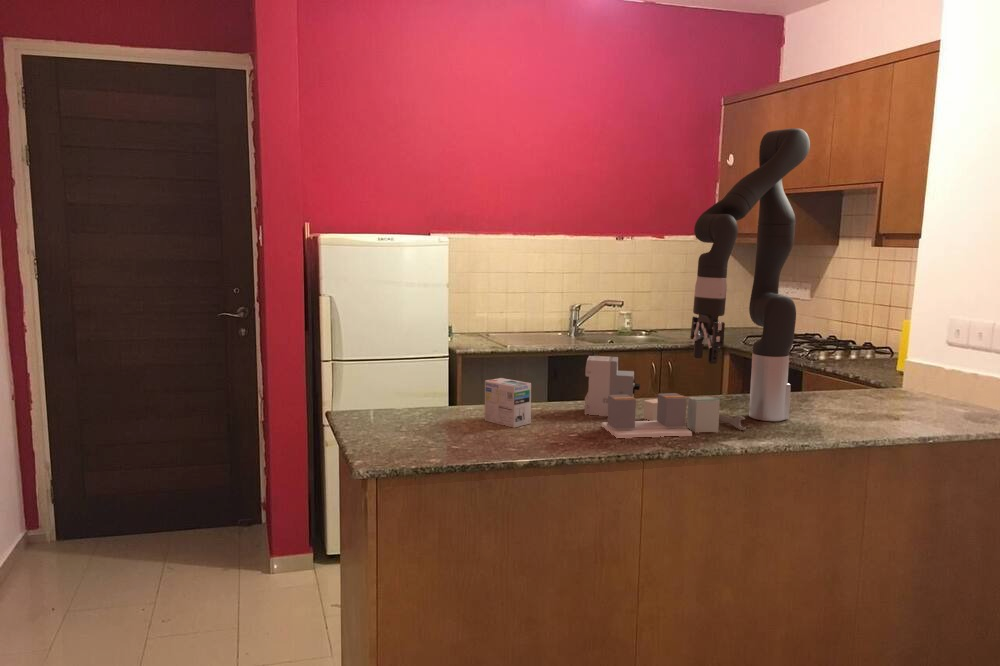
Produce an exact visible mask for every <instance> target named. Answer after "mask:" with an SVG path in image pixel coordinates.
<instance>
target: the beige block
mask: <svg viewBox="0 0 1000 666" xmlns="http://www.w3.org/2000/svg"><path fill="white" fill-rule="evenodd" d="M657 405H658V398H655V399H645V400H644V401H643V420H646V419H647V420H646V421H648V420H650V421H657Z"/></svg>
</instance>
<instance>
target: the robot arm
mask: <svg viewBox="0 0 1000 666" xmlns="http://www.w3.org/2000/svg"><path fill="white" fill-rule="evenodd" d="M810 147H811V141H810V137H809V135H808V133H807V132H806V131H805V130H804V129H801V128H796V127H795V128H791V127H790V128H784V129H776V130H771V131H768V132H766V133H764V135H763V136H762V138H761V140H760V144H759V151H758V162H759V166H758V168H756V169H754V170H753V171H752V172H749V173H748V174H746V175H745V176H744V177H742V178H741V179H740V180H738V182H736V183H735V184H734V185H733V186H732V187H731V189H730V190H729V191H728V193H726V195H725V196H724V197H723V198H721V200H718V201H717V202H716V203H714V204H713V205H712V206H711V207H709V208H708V209H706V210H705V211H704V212H702V213H701V214H700V216H699V217H698V218H697V219H696V222H695V223H694V229H693V233H694V236H695V238H696V239H697V240H698V241H700V242H702V243H707V244H709V243H710V244H712V246H711V248H710V250H709V251H707V252H703V253H701V254H700V255H699V257H698V261H697V275H696V279H695V280H696V281H695V285H694V298H693V309H692V310H693V311H692V312H693V314H695V315H697V316H692V317H691V320H692V321H691V329H690V337H689V338H690V340H692V343H693V356H692V357H693V359H702V358H703V355H704V342H705V341H707V345H708V349H707V351H708V352H707V364H709V365H711V364H712V365H713V364H717V363H718V355H719V349H720V348H723V347H724V346H725V345H724V344H725V343H724V341H725V328H726V327H725V326H726V323H725V321H719V317H723V316H724V315H725V313H726V301H727V290H728V289H727V285H728V284H727V279H728V277H727V275H728V263H729V259H730V257H731V256H732V252H733V249H734V246H735V243H736V241H737V237H738V232H739V231H738V230H739V227H738V222H737V221H740V220H743V219H744V218H745V217H746V216H747V215H748V214H749V213H750V211H751V210H752V209H753V208H754V207H755V205H757V204H758V203H759V204H758V205H759V208H758V219H757V233H756V234H757V235H756V253H755V262H754V263H755V266H754V274H753V275H754V276H753V283H752V287H751V294H750V300H749V307H748V310H749V311H748V312H749V318H750V319H751V322H753V323H754V325H756V326H758V327H762V333H761V337H760V339H758V340H757V341H754V342H753V344H752V352H751V353H752V355H751V371H750V372H751V373H750V375H751V376H750V390H749V406H748V407H749V408H748V412H749V413H748V417H750V418H751V419H754V420H758V421H759V420H760V421H765V422H766V421H767V422H783V421H784V420H789V417H790V405H791V404H790V403H791V402H790V401H791V385H792V384H790V383H789V382H788V380H789V365H790V350H791V348H792V346H793V343H794V339H795V332H796V331H795V330H796V321H797V307H796V304H795V303H794V300H793V298H791V297H789V296H788V295H786V294H785V295H784V294H779V287H780V276H781V272H782V271H783V270H782V269H783V267H784V265H785V263H786V262H787V260H788V257H789V256H790V254H791V252H792V250H793V246H794V244H795V234H796V215H795V211H794V210H793V207H792V205H791V203H790V201H789V199H788V197H787V195H786V193H785V191H784V186H783V179H784V178H785V177H786V176H788V174H789V173H790V172H791V171H793V170H794V169H795V168H796V167H799V165H801V163H802V162H803V161H805V159H806V158H807V157H808V155H809V153H810Z"/></svg>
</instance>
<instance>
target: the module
mask: <svg viewBox="0 0 1000 666" xmlns="http://www.w3.org/2000/svg"><path fill="white" fill-rule="evenodd" d="M687 399H688V400H687V417H686V419H687V421H686V422H687V423H686V429H688V428H689V429H690V431H691V430H692V431H691V432H693V431H694V432H695V433H694V432H693V433H694V434H700V433H699V432H716V433H719V423H720V422H719V421H720V420H719V414H720V403H721V402H720V399H719V398H715V397H713V396H688V398H687ZM689 429H688V430H689ZM696 432H698V433H696Z"/></svg>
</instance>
